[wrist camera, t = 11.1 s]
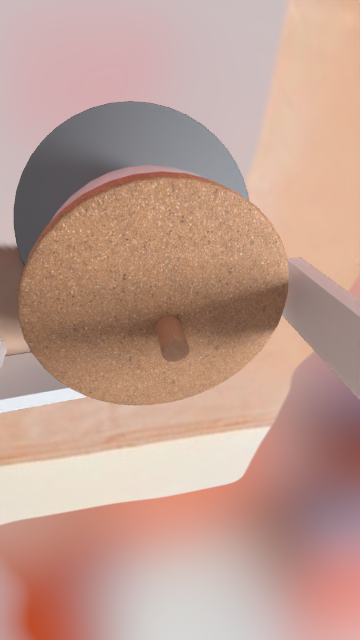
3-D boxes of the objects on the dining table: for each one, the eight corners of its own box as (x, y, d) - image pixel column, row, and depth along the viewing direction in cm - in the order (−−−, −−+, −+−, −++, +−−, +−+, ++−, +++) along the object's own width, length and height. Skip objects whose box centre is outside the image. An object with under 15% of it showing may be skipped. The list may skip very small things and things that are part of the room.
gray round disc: (55, 344, 20) (55, 347, 20) (-37, 102, 12) (-39, 102, 12) (235, 317, 23) (236, 319, 23) (267, 100, 14) (269, 100, 14)
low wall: (-87, 383, 20) (-121, 435, 17) (-98, 371, 19) (-136, 423, 16) (210, 335, 24) (227, 370, 20) (211, 324, 23) (229, 359, 20)
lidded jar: (148, 339, 22) (173, 456, 15) (8, 256, 16) (-68, 386, 8) (256, 239, 19) (355, 326, 11) (134, 87, 13) (183, 66, 5)
